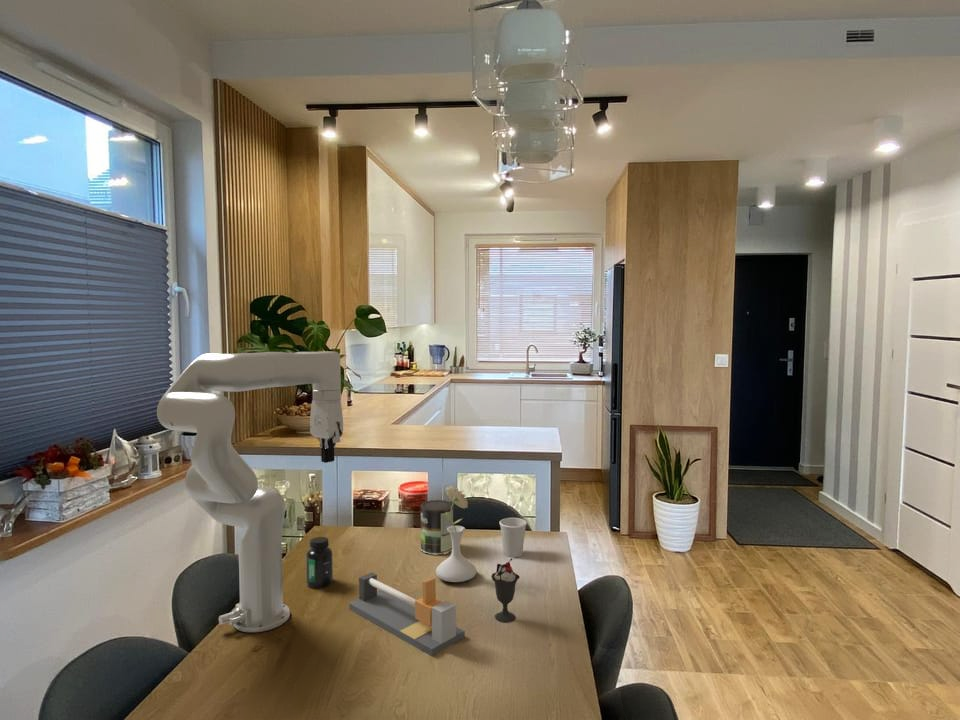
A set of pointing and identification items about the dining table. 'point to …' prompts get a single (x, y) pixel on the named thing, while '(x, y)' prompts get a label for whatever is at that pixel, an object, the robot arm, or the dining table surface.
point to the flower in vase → (456, 546)
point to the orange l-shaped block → (427, 602)
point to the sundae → (505, 589)
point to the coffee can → (436, 527)
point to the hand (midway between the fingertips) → (327, 461)
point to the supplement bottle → (319, 563)
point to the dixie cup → (513, 536)
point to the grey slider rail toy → (406, 616)
